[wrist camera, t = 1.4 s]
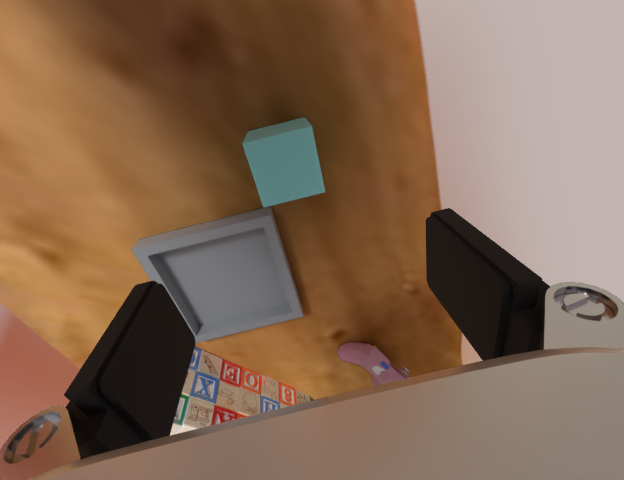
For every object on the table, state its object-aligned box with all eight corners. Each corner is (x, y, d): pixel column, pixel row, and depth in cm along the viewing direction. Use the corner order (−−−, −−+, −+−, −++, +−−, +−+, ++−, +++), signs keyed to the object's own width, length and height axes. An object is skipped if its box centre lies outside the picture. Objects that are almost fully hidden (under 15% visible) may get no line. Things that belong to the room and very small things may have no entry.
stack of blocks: (153, 367, 37) (106, 484, 27) (179, 338, 35) (139, 452, 25) (285, 416, 46) (289, 519, 35) (311, 394, 44) (324, 497, 33)
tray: (139, 238, 28) (131, 249, 27) (270, 206, 28) (270, 214, 26) (195, 330, 35) (191, 344, 33) (301, 304, 35) (303, 316, 33)
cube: (247, 131, 25) (242, 143, 20) (304, 116, 25) (311, 126, 20) (264, 186, 27) (263, 207, 23) (317, 173, 27) (325, 192, 23)
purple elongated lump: (390, 356, 44) (427, 385, 38) (371, 382, 43) (406, 415, 37) (352, 323, 40) (387, 349, 34) (331, 351, 39) (363, 382, 33)
